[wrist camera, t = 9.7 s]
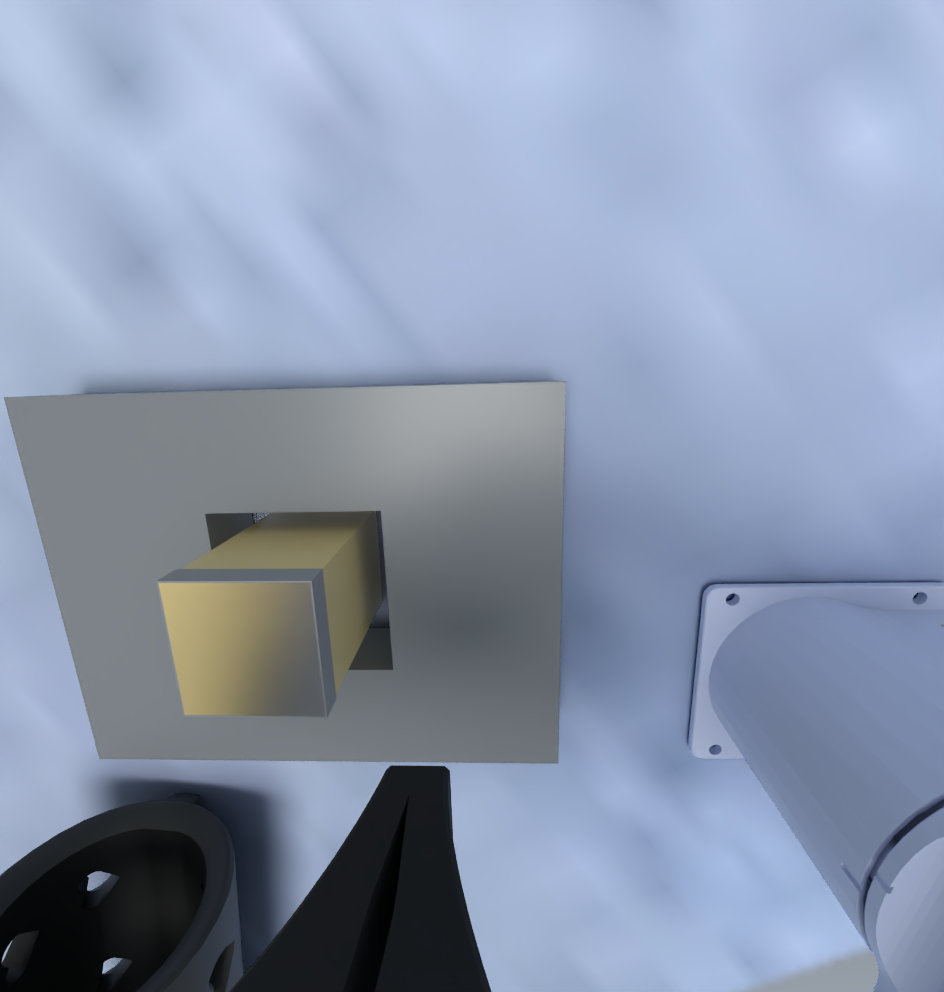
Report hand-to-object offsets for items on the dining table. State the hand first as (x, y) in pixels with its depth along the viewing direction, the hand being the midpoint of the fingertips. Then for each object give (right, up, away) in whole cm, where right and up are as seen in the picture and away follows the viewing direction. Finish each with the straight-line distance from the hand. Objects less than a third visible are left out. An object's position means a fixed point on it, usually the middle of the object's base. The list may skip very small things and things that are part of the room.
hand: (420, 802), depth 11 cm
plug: (-5, +4, +9) cm, 11 cm away
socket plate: (-5, +4, +9) cm, 11 cm away
